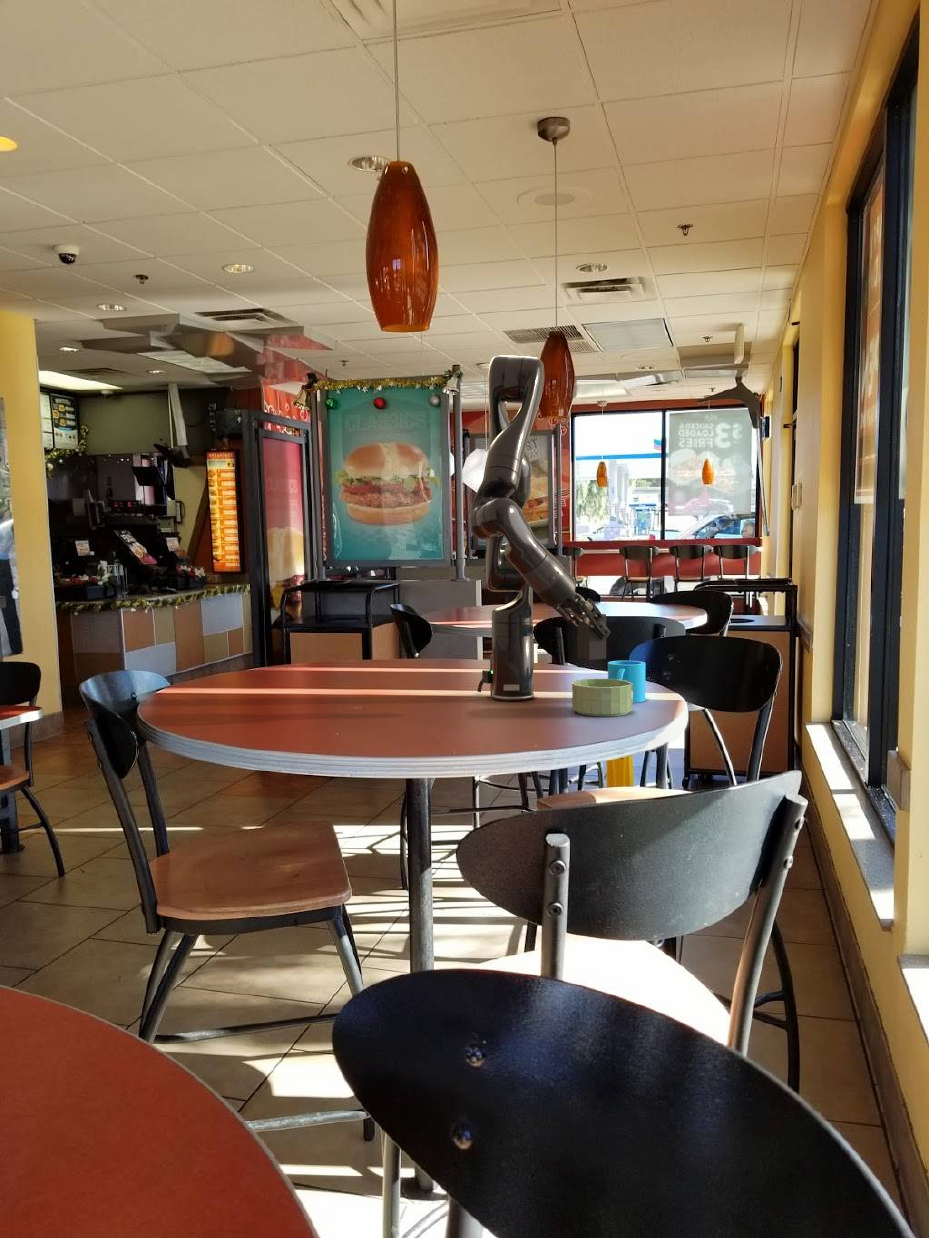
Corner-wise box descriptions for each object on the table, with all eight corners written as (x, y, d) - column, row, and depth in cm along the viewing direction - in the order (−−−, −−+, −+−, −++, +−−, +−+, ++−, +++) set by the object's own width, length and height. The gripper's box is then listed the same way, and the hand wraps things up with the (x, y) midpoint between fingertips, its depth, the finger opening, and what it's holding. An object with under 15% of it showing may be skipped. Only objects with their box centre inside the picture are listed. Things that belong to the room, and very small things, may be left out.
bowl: (560, 711, 191) (560, 682, 191) (603, 704, 198) (603, 676, 198) (600, 719, 181) (600, 689, 181) (645, 712, 188) (645, 683, 188)
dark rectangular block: (589, 659, 185) (589, 615, 184) (577, 657, 189) (577, 613, 188) (606, 658, 187) (606, 614, 186) (594, 656, 191) (594, 612, 190)
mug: (612, 695, 210) (612, 660, 209) (648, 697, 206) (648, 661, 206) (599, 704, 199) (599, 666, 198) (637, 706, 195) (637, 668, 195)
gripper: (578, 564, 177) (631, 624, 183) (542, 563, 190) (592, 619, 196) (554, 593, 175) (608, 652, 181) (519, 590, 188) (570, 645, 194)
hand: (599, 635), depth 188 cm, fingers closed on dark rectangular block, 4 cm apart
